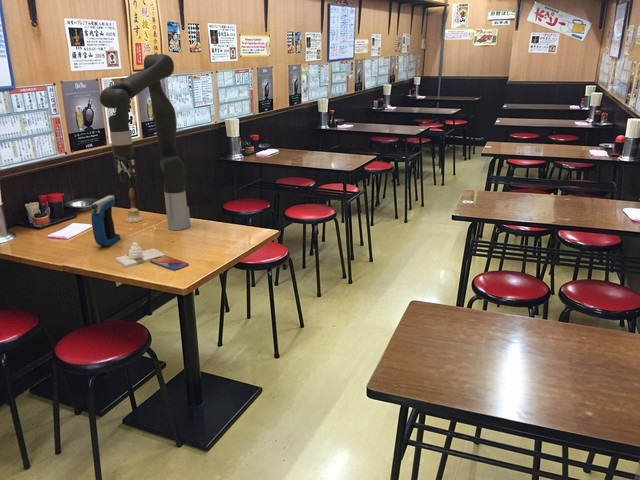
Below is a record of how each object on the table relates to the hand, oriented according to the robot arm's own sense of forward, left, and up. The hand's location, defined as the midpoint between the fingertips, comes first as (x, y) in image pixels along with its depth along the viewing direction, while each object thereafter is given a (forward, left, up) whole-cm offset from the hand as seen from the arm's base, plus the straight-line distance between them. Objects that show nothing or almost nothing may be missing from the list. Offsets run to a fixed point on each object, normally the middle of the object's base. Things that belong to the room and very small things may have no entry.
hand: (128, 184), depth 204 cm
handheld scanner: (+6, -14, -27) cm, 31 cm away
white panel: (+4, +12, -27) cm, 30 cm away
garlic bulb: (+6, +12, -26) cm, 30 cm away
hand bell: (-16, -39, -27) cm, 50 cm away
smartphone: (-2, +25, -28) cm, 37 cm away
